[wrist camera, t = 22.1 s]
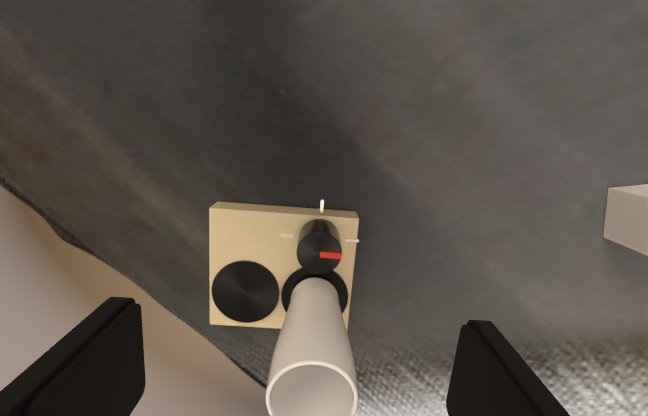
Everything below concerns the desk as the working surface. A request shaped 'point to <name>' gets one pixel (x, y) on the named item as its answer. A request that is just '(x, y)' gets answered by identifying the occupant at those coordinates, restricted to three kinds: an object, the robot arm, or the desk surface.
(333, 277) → the burner
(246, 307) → the burner
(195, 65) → the desk surface
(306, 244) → the hob knob
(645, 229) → the white cube
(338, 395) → the drinking glass
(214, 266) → the hot plate
